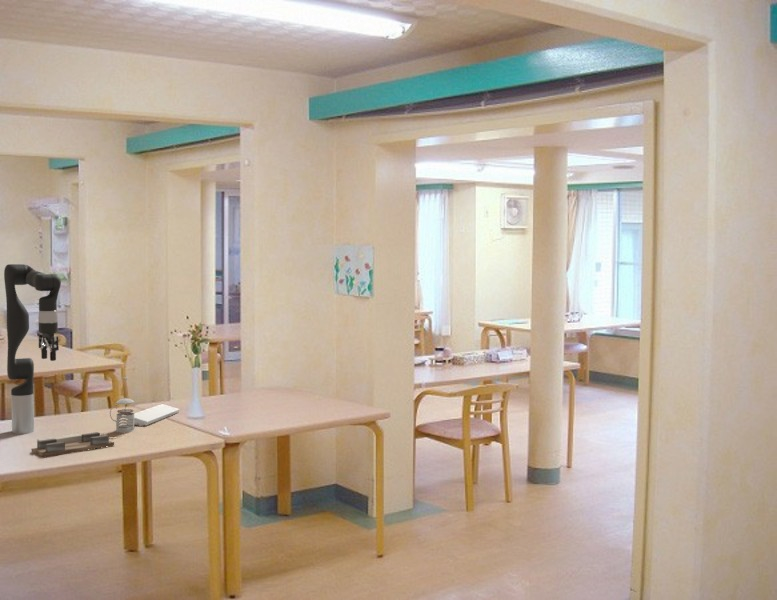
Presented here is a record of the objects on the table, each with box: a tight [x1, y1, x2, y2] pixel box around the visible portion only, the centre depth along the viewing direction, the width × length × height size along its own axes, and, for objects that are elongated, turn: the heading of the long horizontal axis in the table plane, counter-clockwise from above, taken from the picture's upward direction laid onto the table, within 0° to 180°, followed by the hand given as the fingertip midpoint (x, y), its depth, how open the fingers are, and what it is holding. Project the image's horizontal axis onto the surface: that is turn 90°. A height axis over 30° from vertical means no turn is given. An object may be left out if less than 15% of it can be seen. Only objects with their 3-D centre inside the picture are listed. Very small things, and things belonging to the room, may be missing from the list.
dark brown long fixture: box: [31, 431, 115, 458], centre depth 369 cm, size 12×30×4 cm, turn 135°
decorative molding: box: [127, 403, 180, 427], centre depth 432 cm, size 34×5×10 cm
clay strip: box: [36, 432, 83, 443], centre depth 376 cm, size 4×18×6 cm
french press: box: [109, 376, 136, 434], centre depth 404 cm, size 10×12×25 cm
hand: (48, 359), depth 377 cm, fingers open, 8 cm apart
